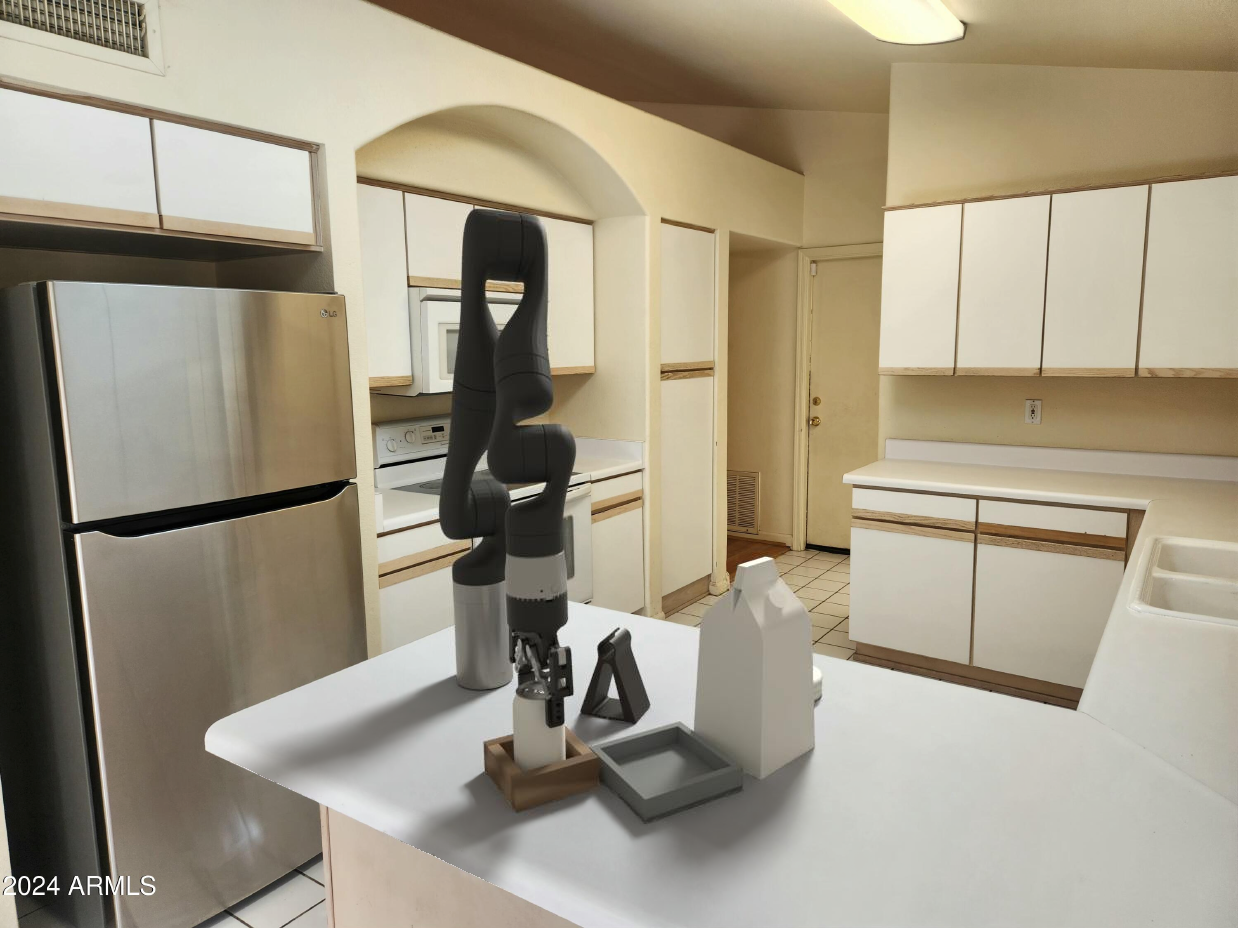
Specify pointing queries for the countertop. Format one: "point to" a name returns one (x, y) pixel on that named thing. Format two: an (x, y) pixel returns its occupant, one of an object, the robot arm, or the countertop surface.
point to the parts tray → (666, 771)
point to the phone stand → (616, 682)
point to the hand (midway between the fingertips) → (541, 712)
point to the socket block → (541, 773)
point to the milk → (756, 672)
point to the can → (535, 730)
